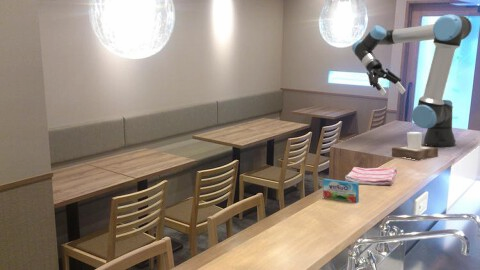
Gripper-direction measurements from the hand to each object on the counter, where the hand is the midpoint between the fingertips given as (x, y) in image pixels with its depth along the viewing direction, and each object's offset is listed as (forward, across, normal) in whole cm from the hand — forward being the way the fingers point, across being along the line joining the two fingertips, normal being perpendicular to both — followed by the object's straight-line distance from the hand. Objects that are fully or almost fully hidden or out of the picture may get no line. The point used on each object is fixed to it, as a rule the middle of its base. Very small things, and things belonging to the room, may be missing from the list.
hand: (394, 93), depth 232 cm
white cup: (+32, +11, -2) cm, 34 cm away
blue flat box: (+57, +83, +17) cm, 102 cm away
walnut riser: (+35, +11, -4) cm, 37 cm away
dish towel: (+47, +54, +7) cm, 72 cm away
